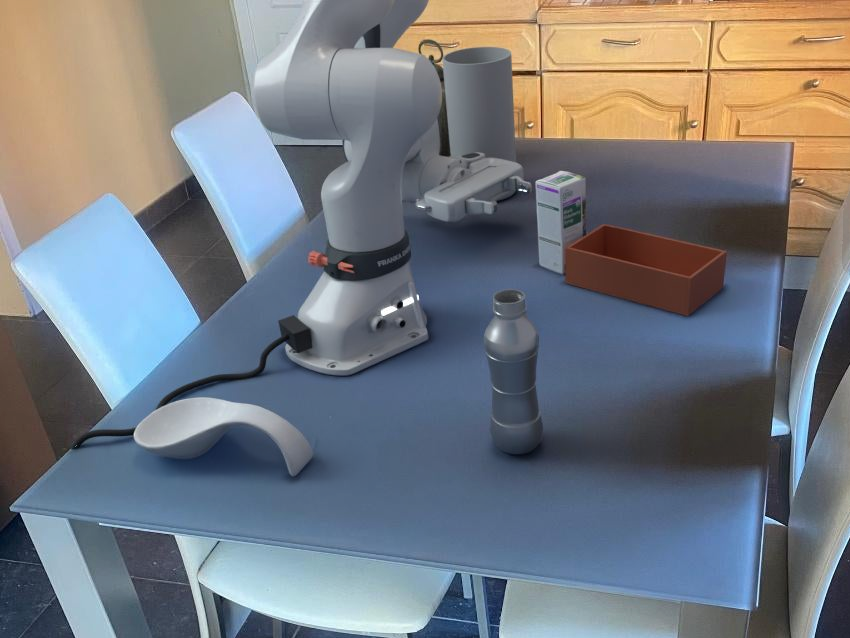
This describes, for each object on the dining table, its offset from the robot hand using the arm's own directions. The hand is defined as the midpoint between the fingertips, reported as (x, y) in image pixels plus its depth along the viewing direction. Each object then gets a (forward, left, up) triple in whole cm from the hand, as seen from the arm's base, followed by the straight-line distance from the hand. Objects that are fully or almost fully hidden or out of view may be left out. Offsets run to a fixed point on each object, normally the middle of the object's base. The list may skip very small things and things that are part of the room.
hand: (512, 198), depth 155 cm
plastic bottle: (-46, -36, -10) cm, 59 cm away
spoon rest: (-68, -5, -10) cm, 69 cm away
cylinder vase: (+20, +22, -10) cm, 32 cm away
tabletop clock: (+26, +40, -10) cm, 48 cm away
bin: (0, -26, -9) cm, 27 cm away
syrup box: (0, -10, -10) cm, 14 cm away
